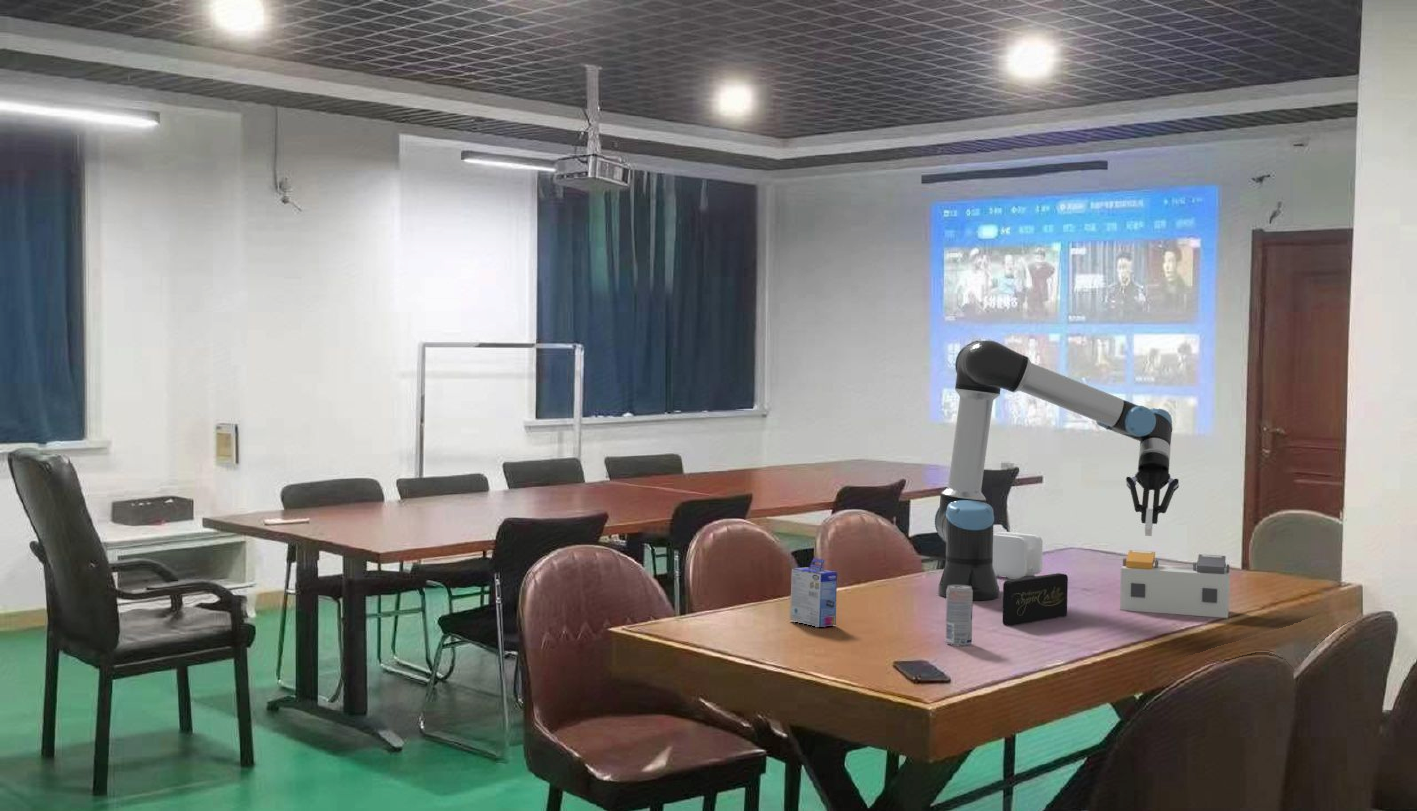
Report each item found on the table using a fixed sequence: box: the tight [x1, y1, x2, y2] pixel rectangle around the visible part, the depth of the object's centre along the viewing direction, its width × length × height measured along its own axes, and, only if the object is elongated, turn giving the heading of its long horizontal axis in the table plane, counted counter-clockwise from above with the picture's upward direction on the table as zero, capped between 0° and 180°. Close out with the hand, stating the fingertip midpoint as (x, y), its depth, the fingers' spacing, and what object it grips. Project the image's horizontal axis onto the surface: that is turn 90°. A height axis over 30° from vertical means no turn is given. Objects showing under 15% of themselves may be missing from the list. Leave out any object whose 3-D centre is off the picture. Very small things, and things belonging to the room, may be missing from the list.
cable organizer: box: [993, 531, 1044, 580], centre depth 376 cm, size 15×11×12 cm
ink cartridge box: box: [789, 557, 838, 628], centre depth 302 cm, size 10×6×14 cm, turn 40°
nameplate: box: [1002, 572, 1069, 627], centre depth 310 cm, size 21×2×10 cm, turn 129°
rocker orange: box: [1126, 549, 1156, 569], centre depth 327 cm, size 8×6×2 cm
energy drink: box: [945, 585, 973, 647], centre depth 282 cm, size 5×5×12 cm
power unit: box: [1119, 557, 1231, 619], centre depth 324 cm, size 10×24×12 cm, turn 67°
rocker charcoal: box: [1196, 553, 1227, 574], centre depth 321 cm, size 8×6×2 cm
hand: (1148, 532), depth 333 cm, fingers closed
